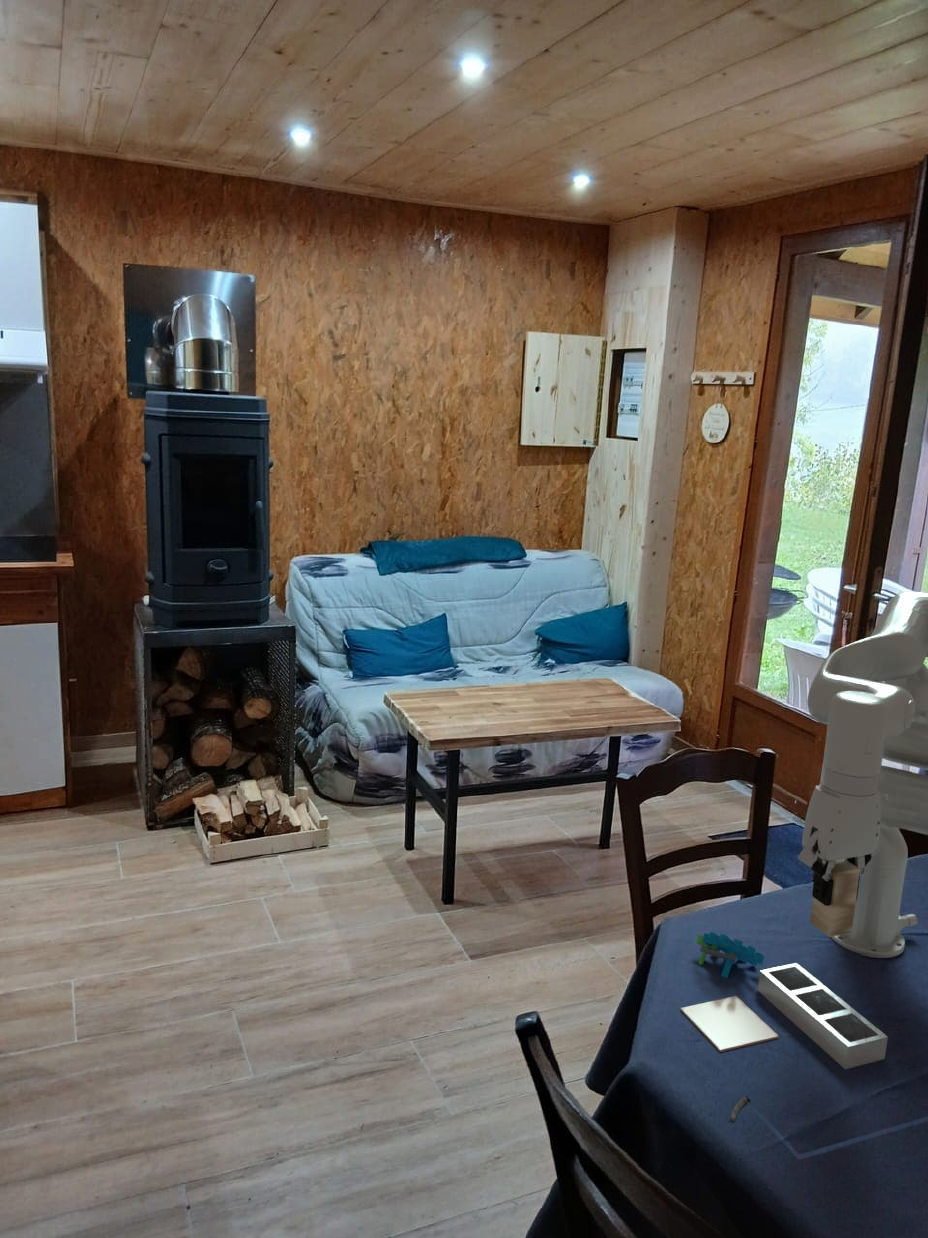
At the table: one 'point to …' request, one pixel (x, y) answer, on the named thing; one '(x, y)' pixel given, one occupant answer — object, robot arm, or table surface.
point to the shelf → (823, 1016)
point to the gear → (727, 951)
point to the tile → (729, 1023)
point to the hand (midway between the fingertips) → (834, 897)
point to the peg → (838, 901)
